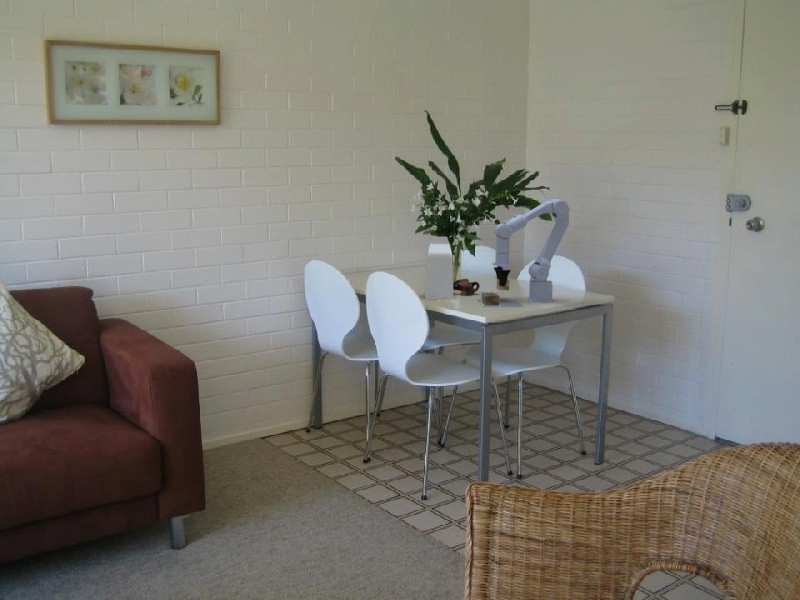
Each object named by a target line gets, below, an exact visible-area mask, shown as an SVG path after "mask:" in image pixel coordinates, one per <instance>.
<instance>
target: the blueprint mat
mask: <svg viewBox="0 0 800 600" xmlns="http://www.w3.org/2000/svg"><path fill="white" fill-rule="evenodd" d="M476 301H477V302H478V303H479V304H480V305H481V306H482V307H483V308H525V306H524V305H523V303H521V302H520V301H518V300H517V299H514V298H513V299H512V298H511V299H509V298H507V299H501V298H499V306H485V305H484V304H483V303H482V300H481V298H480V299H476Z"/></svg>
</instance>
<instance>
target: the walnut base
mask: <svg viewBox="0 0 800 600" xmlns="http://www.w3.org/2000/svg"><path fill="white" fill-rule="evenodd" d="M481 294H482V303H483V304H484V305H485V306H499V299H500V297H501V296H500V295H499V294H498V293H495V292H494V293H482V292H481Z"/></svg>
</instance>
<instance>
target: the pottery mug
mask: <svg viewBox="0 0 800 600" xmlns="http://www.w3.org/2000/svg"><path fill="white" fill-rule="evenodd" d="M475 286H476V287H475ZM474 287H475V288H474ZM480 287H481V285H480V283H479V282H478V281H472V282H470V281H469V279H468V278H462V279H458V280H455V281H453V291H459V292H460V296H462V297H470V296H471V297H472V296H473V295H475V292H478V291H479V290H480Z"/></svg>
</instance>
